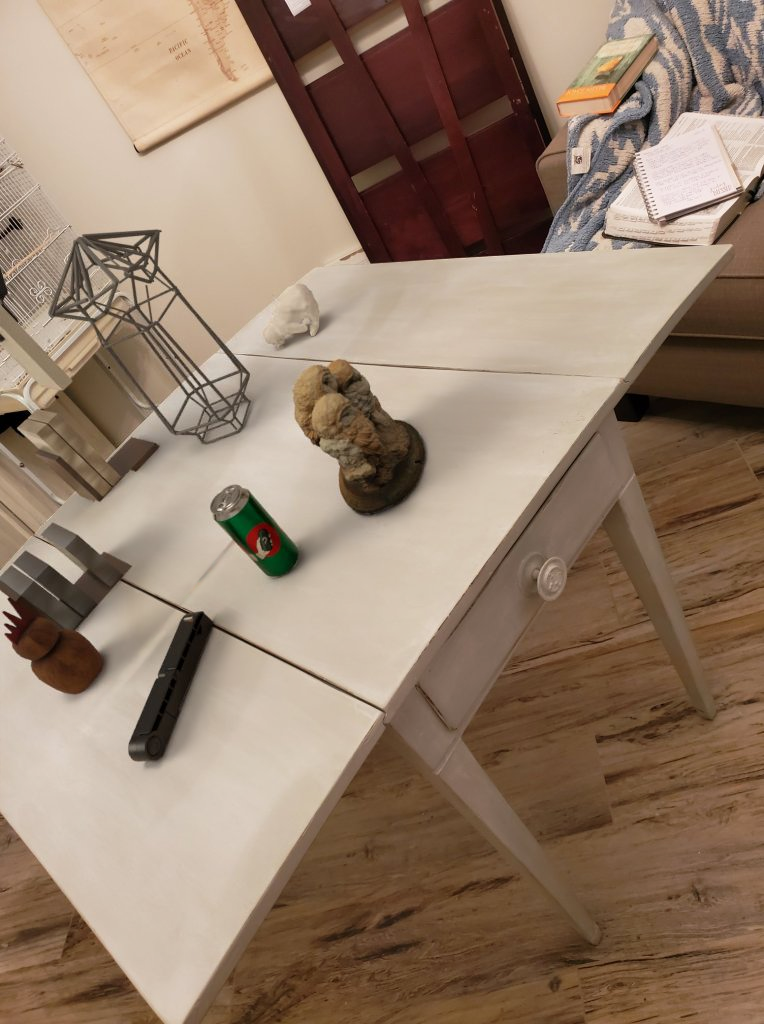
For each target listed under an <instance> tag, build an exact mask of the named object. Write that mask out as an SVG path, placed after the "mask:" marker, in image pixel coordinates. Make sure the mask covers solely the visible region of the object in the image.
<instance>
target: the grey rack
mask: <svg viewBox="0 0 764 1024" xmlns="http://www.w3.org/2000/svg"><path fill="white" fill-rule="evenodd" d="M40 536H41V537H42V538H43V539H44V540H45V541H46V542H48V543H49V544H50V545H51V546H53V547H54V548H55V549H56V550H57V551H59V552H60V553H61V554H62V555H63V556H64V557H66V558H67V559H68V560H70V561H71V562H72V563H73V564H74V565H75V566H76V567H78V568H79V569H80V570H82V572H83V574H81V575H80V577H78V579H77V580H76V581H75V582H74V583H73V582H71V581H70V580H68V578H66V577H65V576H64V575H63V574H62V573H60V572H59V571H58V570H57V569H56V568H54V567H53V566H51V565H50V564H49V563H47V562H45V560H43V559H41V558H39V557H37V556H36V555H34V554H33V553H31V552H30V551H28V550H26V549H25V550H24V551H23V552H22V553H21V554H20V555H19V556H18V557H17V558H16V559H15V560H14V561H13V562H12V565H10V566H8V568H7V569H5V571H4V572H3V573H2V574H1V575H0V592H2V593H3V594H4V595H5V596H6V597H7V598H11V599H13V600H14V601H15V602H17V603H18V604H19V605H21V606H22V607H23V608H25V609H26V610H28V611H29V612H30V613H31V614H33V615H34V616H35V617H36V618H38V617H42V618H46V619H48V620H49V621H51V622H52V623H53V624H54V625H55V626H56V628H57V630H58V631H59V630H66V629H69V630H75V631H77V629H78V628H79V627H80V626H81V625H82V624H83V623H84V621H85V620H86V619H87V618H89V616H90V615H91V613H93V612H94V610H95V609H96V608H97V606H98V605H100V603H101V602H102V601H103V600H104V599H105V598H106V597H107V595H108V594H110V592H112V590H113V589H114V587H116V585H117V584H119V582H120V581H121V580H122V578H123V577H125V575H126V574H127V573H128V572H129V571H130V570H131V568H132V567H133V565H132V564H129V563H128V562H125V561H123V560H122V559H120V558H117V557H116V556H114V555H112V554H109V553H108V552H106V551H103V552H102V553H101V554H100V553H99V552H98V551H97V550H96V549H95V548H93V546H91V545H90V544H89V543H88V542H86V541H85V540H84V538H83V537H81V536H80V535H79V534H77V533H75V532H73V531H71V530H69V529H67V528H65V527H64V526H61V525H59V524H58V523H55V522H51V523H50V524H49V525H48V526H47V527H46V528H45V529H44V530H43V531H42V532H41V533H40ZM14 566H15V567H14ZM17 568H18V569H17Z"/></svg>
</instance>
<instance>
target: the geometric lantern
mask: <svg viewBox="0 0 764 1024" xmlns="http://www.w3.org/2000/svg"><path fill="white" fill-rule="evenodd" d="M162 232H163V231H162V229H156V228H155V229H144V230H143V229H141V230H129V231H128V230H127V231H126V230H125V231H112V232H97V233H83V234H81V236H78V237H76V238H75V239H73V241H72V247H71V250H70V252H69V255H68V257H67V261H66V263H65V266H64V269H63V271H62V274H61V277H60V280H59V282H58V284H57V288H56V290H55V293H54V296H53V298H52V301H51V304H50V307H49V308H48V312H47V314H48V316H49V317H50V319H53V318H61V319H67V320H68V319H69V320H75V321H83V322H89V324H90V325H91V327H92V328H93V329H94V332H95V334H96V336H97V338H98V341H99V343H100V346H101V347H102V349H104V350H105V351H106V352H107V353H108V355H109V356H110V357H111V358H112V360H113V361H114V362H115V363H116V364H117V366H118V367H119V368H120V369H121V371H122V372H123V373H124V375H125V376H126V377H127V378H128V379H129V380H130V382H131V383H132V384H133V386H134V387H135V388H136V389H137V390H138V391H139V393H140V394H141V396H142V397H143V399H144V400H145V401H146V403H147V404H148V405H149V406H150V408H151V409H152V410H153V412H154V413H155V414H156V416H157V417H158V419H159V420H160V421H161V423H162V424H163V425H164V427H165V428H166V429H167V430H168V432H169V433H170V434H171V435H173V436H174V437H175V436H196V438H197V439H198V441H200V444H202V445H208V444H211V443H214V442H217V441H219V440H222V439H225V438H227V437H230V436H232V435H233V436H234V435H235V434H239V433H240V432H241V430H242V429H243V428H244V426H245V423H246V420H247V416H248V414H249V410H250V406H251V403H252V400H251V399H249V397H248V396H247V395H246V394H245V393H246V390H247V387H248V384H249V381H250V378H251V373H250V371H249V370H248V369H247V367H245V365H243V363H242V362H241V361H240V360H239V358H237V356H236V355H235V354H234V353H233V352H232V350H231V349H229V347H228V346H227V345H226V343H224V341H223V340H222V339H221V338H220V337H219V336H218V335H217V334H216V332H214V330H213V329H212V328H211V327H210V325H209V324H208V323H207V322H206V321H205V320H204V319H203V318H202V316H201V315H200V314H199V313H198V312H197V311H196V310H195V308H194V307H193V306H192V305H191V303H190V302H189V301H188V300H187V298H186V297H185V296H184V295H183V294H182V292H181V290H180V289H179V288H178V286H177V285H175V283H173V281H172V280H171V279H170V278H169V276H168V275H166V274H165V273H164V271H163V270H162V269H161V268H160V266H159V251H160V234H161V233H162ZM131 237H132V238H133V237H142V238H140V239H139V240H138V241H136V242H135V243H134V244H133V245H132V244H125V243H121V242H120V243H119V242H113V241H107V240H110V239H120V238H131ZM148 239H149V241H148V245H147V248H146V251H145V252H143V250H142V249H141V247H140V246H141V245H142V244H144V242H146V241H147V240H148ZM153 247H154V256H152V255H151V252H152V249H153ZM80 248H81V249H80ZM92 249H93V250H95V251H97V252H99V253H100V254H102V256H104V257H105V258H102V259H101V258H99V256H97V255H96V254H95V253H94V251H93V250H92ZM81 250H82V251H83V253H84V254H85V255H86V257H87V258H88V260H89V263H91V264H90V265H89V266H88V267H86V264H85V262H84V259H83V256H82V252H81ZM133 255H134V256H139V257H140V258H138V260H136V261H135V263H133V262H132V260H131V259H130V257H131V256H133ZM153 257H154V258H153ZM115 260H116V261H115ZM149 260H150V262H151V263H152V264H153V270H152V272H151V271H150V270H148V268H147V267H148V265H149V264H150V263H149ZM117 261H118V262H121V263H122V264H125V265H127V266H128V267H127V266H121V265H120V264H118V263H117ZM108 262H111V263H113V264H110V263H108ZM94 266H96V267H99V268H100V269H101V270H102V271H103V273H104V274H106V276H108V278H109V279H110V280H111V281H112V283H111V284H109V285H108V286H106V287H105V288H103V289H102V290H101V291H99V292H98V293H97V294H94V291H93V286H92V282H91V277H90V273H89V270H90V269H91V268H92V267H94ZM70 268H71V269H70ZM111 269H114V270H119V271H123V276H124V277H123V278H121V280H120V279H119V278H118V277H117V276H116V275H115V274H114V273H113V272H112V271H111ZM69 270H70V273H71V274H70V285H69V287H70V289H69V295H68V296H67V297H66V298H64V299H63V300H62V301H60V302H59V299H60V296H61V293H62V289H63V287H64V283H65V281H66V278H67V275H68V273H69ZM139 270H141V271H142V273H144V275H145V276H146V277H147V278H145V277H141V276H138V275H135V273H134V272H135V271H136V272H137V271H139ZM157 273H159V275H160V276H161V277H162V278H163V279H164V280H165V281H166V282H167V283H168V284H169V285H168V284H167V283H165V282H164V281H163V280H162V279H161V278H159V277H157V276H156V275H157ZM128 279H130V282H131V288H132V296H133V297H132V298H133V303H134V305H132V307H130V308H129V309H128V310H124V309H120V308H117V307H115V306H112V303H113V301H114V297H115V295H116V292H117V289H118V286H119V284H122V283H123V282H125V281H126V280H128ZM155 279H156V280H157V281H158V282H159V283H160V284H162V285H163V286H165V288H167V289H166V290H165V291H161V292H160V293H157V294H155V295H154V296H151V297H150V294H149V287H148V284H152V283H154V282H155ZM135 281H138V282H141V283H145V286H144V287H145V294H146V299H144V300H142V301H141V302H138V297H137V295H138V294H137V287H136V282H135ZM80 290H82V292H83V293H84V294H85V296H86V297H85V298H82V299H81V291H80ZM108 292H110V294H109V296H108V300H107V302H106V304H104V303H102V302H98V301H97V300H99V299H100V298H101V297H103V296H104V295H106V294H107V293H108ZM171 292H174V294H173V295H172V298H171V299H170V300H169V302H168V303H167V305H166V307H165V308H164V310H163V311H162V312H161V314H160V315H159V317H158V318H157V320H153V314H152V307H151V302H152V301H153V300H155V299H157V298H159V297H162V296H163V295H167V294H168V293H171ZM177 297H178V298H179V299H180V301H181V302H182V303H183V304H184V305H185V306H186V308H188V310H189V311H190V312H191V314H193V315H194V317H195V318H196V319H197V320H198V322H199V323H200V325H202V327H203V328H204V329H205V331H207V333H208V334H209V335H210V337H211V338H212V339H213V340H214V341H215V343H216V344H217V345H218V346H219V348H220V349H221V351H223V352H224V354H225V355H226V356H227V358H228V359H229V360H230V361H231V363H232V365H234V366H235V367H236V369H237V370H235V371H232V372H230V373H227V374H224V375H223V376H222V375H221V376H219V377H217V378H215V379H212V380H210V379H209V377H207V376H206V374H205V373H204V372H203V371H202V370H201V369H200V367H199V366H198V365H197V364H196V363H195V362H194V361H193V359H192V358H191V357H190V356H189V355H188V354H187V353H186V352H185V350H184V349H183V348H182V347H181V346H180V345H179V343H178V342H177V341H176V340H175V339H174V338H173V337H172V335H170V333H169V332H168V331H167V330H166V328H164V326H163V325H162V324H161V323H160V322H161V321H162V319H163V318H164V316H165V315H166V313H167V312H168V310H169V309H170V307H171V305H172V304H173V303H174V301H175V300H176V298H177ZM71 300H72V301H73V302H72V303H70V304H67V303H69V302H70V301H71ZM58 302H59V303H58ZM86 303H87V304H86ZM146 303H147V307H148V314H149V318H148V316H147V315H146V314H145V312H143V310H141V308H140V307H141V306H142V305H144V304H146ZM66 304H67V305H66ZM83 304H86V305H84V306H82V305H83ZM92 306H94V308H96V309H97V310H98V311H99V312H101V313H100V314H98V315H96V316H95V317H91V316H90V314H89V313H88V311H87V310H89V309H90V308H91V307H92ZM100 306H101V307H104V310H103V308H101V307H100ZM139 306H140V307H139ZM111 309H112V310H113V311H117V312H120V313H123V314H122V315H119V314H117V313H114V312H112V311H110V310H111ZM135 310H136V311H137V312H138V313H139V315H140V316H141V318H142V319H143V320H144V321H145V322H146V323H147V324H148V325H147V326H146V325H145V324H141V323H139V322H137V321H136V320H135V319H134V317H133V316H132V314H131V313H133V312H134V311H135ZM74 313H81V314H82V315H83V316H80V315H73V314H74ZM107 315H108V316H110V317H113V318H115V319H118V321H117V323H116V324H115V326H114V327H113V328H112V330H111V331H110V333H108V336H106V338H105V337H104V335H103V334H102V332H101V331H100V330H99V328H98V327H97V325H96V323H97V322H99V321H100V320H101V319H103V318H104V317H106V316H107ZM126 316H127V317H126ZM122 321H123V322H125V323H128V324H130V325H133V326H134V327H135V329H136V330H137V332H134V333H132V334H130V335H127V336H125V337H122V338H120V339H117V340H116V341H113V342H111V343H108V342H109V341H110V339H111V337H112V336H113V334H114V333H115V332H116V330H117V329H118V327H119V326H120V325H121V323H122ZM156 327H157V328H159V330H160V331H161V332H162V334H164V336H165V337H166V338H167V340H169V341H170V343H171V344H172V345H173V346H174V347H175V348H176V349H177V350H178V352H179V353H180V355H182V356H183V357H184V359H186V361H187V362H188V363H189V364H190V365H191V366H192V368H193V369H194V370H195V371H196V372H197V373H198V374H199V376H200V377H201V378H202V379H203V380H204V382H205V383H201V382H200V380H198V378H197V377H196V376H195V375H194V373H193V372H192V371H191V370H190V368H189V367H188V366H187V364H186V363H185V362H184V361H183V360H182V358H181V357H180V356H179V355H178V353H177V352H176V351H175V350H174V349H173V347H172V346H171V345H170V344H169V343H168V341H167V340H166V339H165V337H164V336H163V335H162V334H161V332H160V331H159V330H158V329H157V328H156ZM151 329H152V331H153V332H154V333H155V334H156V335H157V337H158V338H159V339H160V340H161V342H162V343H163V344H164V346H165V347H166V348H167V349H168V350H169V352H170V353H171V354H172V355H173V356H174V358H175V359H176V360H177V361H178V362H179V364H180V365H181V366H182V367H183V369H184V370H185V371H186V372H187V374H188V375H189V376H190V377H191V378H192V380H193V381H194V382H195V383H196V385H197V387H196V386H195V385H194V384H193V382H192V381H191V380H190V379H189V377H188V376H187V375H186V374H185V372H184V371H183V370H182V369H181V367H180V366H179V365H178V364H177V362H176V361H175V360H174V359H173V357H172V356H171V355H170V354H169V353H168V352H167V350H166V349H165V348H164V346H163V345H162V344H161V343H160V342H159V340H158V339H157V338H156V337H155V336H154V334H153V333H152V332H151ZM139 335H141V337H142V338H143V339H144V341H145V342H146V343H147V344H148V346H149V347H150V349H151V350H152V351H153V353H154V354H155V355H156V357H157V358H158V359H159V361H160V362H161V363H162V365H163V366H164V367H165V369H166V370H167V372H168V373H169V374H170V375H171V377H172V378H173V379H174V381H175V383H177V385H178V386H179V388H180V389H181V390H182V392H183V393H184V394H185V396H186V397H185V399H184V401H183V403H182V404H181V407H180V408H179V410H178V413H177V414H176V417H175V418H174V420H173V422H172V424H171V423H170V422H169V421H168V419H167V418H166V417H165V415H163V413H162V412H161V410H159V408H158V407H157V405H156V404H155V403H154V402H153V401H152V400H151V398H150V397H149V396H148V394H147V393H146V392H145V391H144V389H143V388H142V387H141V385H140V384H139V383H138V381H137V380H136V379H135V377H134V376H133V375H132V373H131V372H130V370H129V369H128V368H127V367H126V365H125V364H124V363H123V362H122V360H121V359H120V357H119V356H118V355H117V353H116V352H115V351H114V349H113V348H112V346H115V345H117V344H120V343H122V342H124V341H127V340H129V339H132V338H134V337H136V336H139ZM147 335H148V336H149V337H150V339H151V340H152V341H153V343H154V344H155V345H156V347H158V349H159V350H160V351H161V352H162V354H163V355H164V356H165V358H166V359H167V360H168V361H169V363H170V364H171V365H172V366H173V367H174V368H175V370H176V371H177V372H178V373H179V375H180V376H181V377H182V378H183V380H184V381H185V382H186V383H187V384H188V386H189V387H190V389H192V390H191V391H190V392H188V391H187V389H186V387H185V386H184V385H183V383H182V382H181V380H180V379H179V377H178V376H177V375H176V374H175V372H174V371H173V370H172V369H171V367H170V366H169V365H168V363H167V362H166V360H165V359H164V358H163V356H162V355H161V354H160V352H159V351H158V350H157V348H156V347H155V345H154V344H153V343H152V342H151V340H150V339H149V337H148V336H147ZM238 374H239V389H238V390H237V392H233V393H232V394H230V395H226V396H224V395H223V394H222V392H221V391H220V390H219V389H218V388H217V387H216V386H215V384H216V383H218V382H221V381H224V380H225V379H228V378H231V377H234V376H236V375H238ZM243 374H245V377H244V379H243ZM208 386H210V388H211V389H212V390H213V391H214V392H215V394H216V395H217V396H218V397H219V398H220V399H217V400H216V401H214V402H211V403H210V402H209V400H208V397H207V395H206V392H205V390H204V388H205V387H208ZM200 391H201V392H200ZM194 394H195V395H196V396H197V397H198V398H199V400H200V401H201V402H202V403H203V404H201V403H200V402H199V401H197V399H195V398H194V397H193V395H194ZM233 397H234V399H233V401H232V403H231V402H230V401H229V400H228V399H230V398H233ZM189 400H191V401H193V402H194V403H195V404H196V405H198V406H199V407H201V408H202V411H201V414H200V416H199V419H198V421H197V425H195V426H192V427H187V428H186V429H182V430H176V429H175V427H176V426H177V424H178V422H179V420H180V418H181V416H182V414H183V412H184V410H185V408H186V406H187V404H188V403H189ZM221 402H223V403H224V404H225V405H226V406H225V407H222V408H220V409H217V410H215V409H214V407H213V406H214V405H216V404H219V403H221ZM244 403H247V406H246V409H245V412H244V416H243V418H242V422H241V421H240V419H239V418H238V416H237V415H238V412H239V410H240V406H241V404H244ZM235 407H236V408H235ZM225 410H226V411H225ZM208 411H209V412H210V413H211V414H210V413H209V412H208ZM223 411H225V412H224V413H223V414H222V415H221V417H220V416H219V413H221V412H223ZM231 412H232V414H231V415H232V418H231V419H230V420H229V419H226V418H227V417H228V415H230V413H231ZM205 414H206V415H207V417H208V420H207V422H204V423H202V420H203V418H204V415H205ZM213 417H214V418H215V419H213V420H212V418H213ZM234 421H236V423H238V425H239V428H238V427H237V426H236V425H235V424H234V423H233V422H234ZM221 422H223V423H221ZM218 423H220V424H218ZM214 424H215V426H212V427H210V426H211V425H214ZM216 424H217V425H216ZM229 424H230V426H231V427H232V428H233V429H234V430H235V431H232V432H229V433H227V434H224V435H221V436H219V437H216V438H215V437H214V438H213V439H210V440H207V441H206V440H205V438H206V435H207V433H208V432H210V431H214V430H216V429H218V428H222V427H223V426H227V425H229ZM203 428H205V429H204V430H202V431H199V430H200V429H203ZM193 431H194V432H193ZM198 431H199V432H198ZM201 435H202V436H201Z"/></svg>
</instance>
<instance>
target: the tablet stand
mask: <svg viewBox="0 0 764 1024" xmlns="http://www.w3.org/2000/svg"><path fill="white" fill-rule="evenodd" d="M213 626H214V621H213V620H212V618H210V617H209V616H208V615H207V614H206V613H205V612H204V611H203V610H201V611H193V612H188V613H186V614H184V615H183V616H182V617H181V619H180V621H179V623H178V626H177V627H176V630H175V632H174V635H173V638H172V640H171V641H170V644H169V647H168V649H167V651H166V653H165V656H164V659H163V661H162V663H161V666H160V668H159V669H158V673H157V678H155V680H154V681H153V684H152V686H151V689H150V691H149V693H148V696H147V699H146V701H145V703H144V706H143V708H142V711H141V713H140V715H139V717H138V720H137V722H136V725H135V727H134V729H133V732H132V734H131V737H130V739H129V741H128V745H127V752H128V755H129V758H130V759H131V760H132V761H133V762H138V763H141V762H156V761H158V760H160V759H161V758H162V757H163V756H164V754H165V752H166V749H167V746H168V743H169V741H170V739H171V735H172V734H173V733H172V732H173V731H174V728H175V725H176V723H177V720H178V717H179V715H180V712H181V707H182V704H183V703H184V700H185V697H186V694H187V692H188V689H189V686H190V684H191V681H192V679H193V676H194V673H195V671H196V669H197V666H198V663H199V661H200V658H201V656H202V654H203V651H204V648H205V645H206V643H207V640H208V638H209V636H210V632H211V630H212V628H213Z"/></svg>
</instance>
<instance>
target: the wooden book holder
mask: <svg viewBox="0 0 764 1024" xmlns="http://www.w3.org/2000/svg"><path fill="white" fill-rule="evenodd" d="M16 429H17V430H18V431H19V432H20V433H21V434H22V435H23V436H24V437H26V438H27V439H28V441H30V442H31V443H32V445H34V446H35V447H36V448H37V449H38V450H37V451H36V452H35V453H34V454H35V455H36V456H37V457H38V458H39V459H40V460H41V461H42V462H43V463H44V464H46V466H47V467H49V468H50V469H51V470H52V471H53V472H54V473H55V474H56V475H57V476H58V477H59V478H61V479H62V480H63V481H64V482H65V484H67V485H68V486H69V487H71V488H72V490H74V491H75V492H76V493H77V494H78V495H79V496H80V497H81V496H82V497H81V498H84V497H85V498H84V499H86V498H87V500H89V501H91V500H92V501H91V502H95V501H97V502H99V503H101V502H102V501H103V499H104V498H105V497H106V496H108V494H109V493H110V492H111V491H112V490H113V489H114V488H115V487H116V486H117V485H118V484H119V483H120V482H121V481H122V479H123V478H125V476H126V475H127V474H128V473H129V472H130V471H132V472H138V470H139V469H140V468H141V467H142V466H143V465H144V464H145V462H146V461H148V460H149V458H150V457H152V455H153V454H155V452H156V451H157V450H158V449H159V448H160V445H159V444H158V443H157V442H154V441H150V440H146V439H141V438H137V437H133V436H131V437H130V438H128V440H127V441H126V442H125V443H124V444H123V445H122V446H121V447H120V448H118V450H117V451H116V452H115V453H114V454H113V455H112V457H110V458H109V459H108V460H107V461H106V460H105V459H104V458H103V457H102V456H101V455H100V454H99V452H97V451H96V450H95V449H94V448H93V447H92V446H91V445H90V443H88V442H87V441H86V440H85V439H84V438H83V436H81V435H80V434H79V433H78V432H77V431H76V430H75V429H74V428H73V427H72V426H71V425H70V424H69V423H68V422H67V421H66V420H65V419H64V418H63V417H62V416H61V415H60V413H58V412H52V411H48V410H43V409H39V408H37V409H36V410H34V412H32V414H30V415H29V416H28V417H27V418H26V419H25V420H24V421H23V422H22V423H21V424H20V425H18V426H17V428H16Z"/></svg>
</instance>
